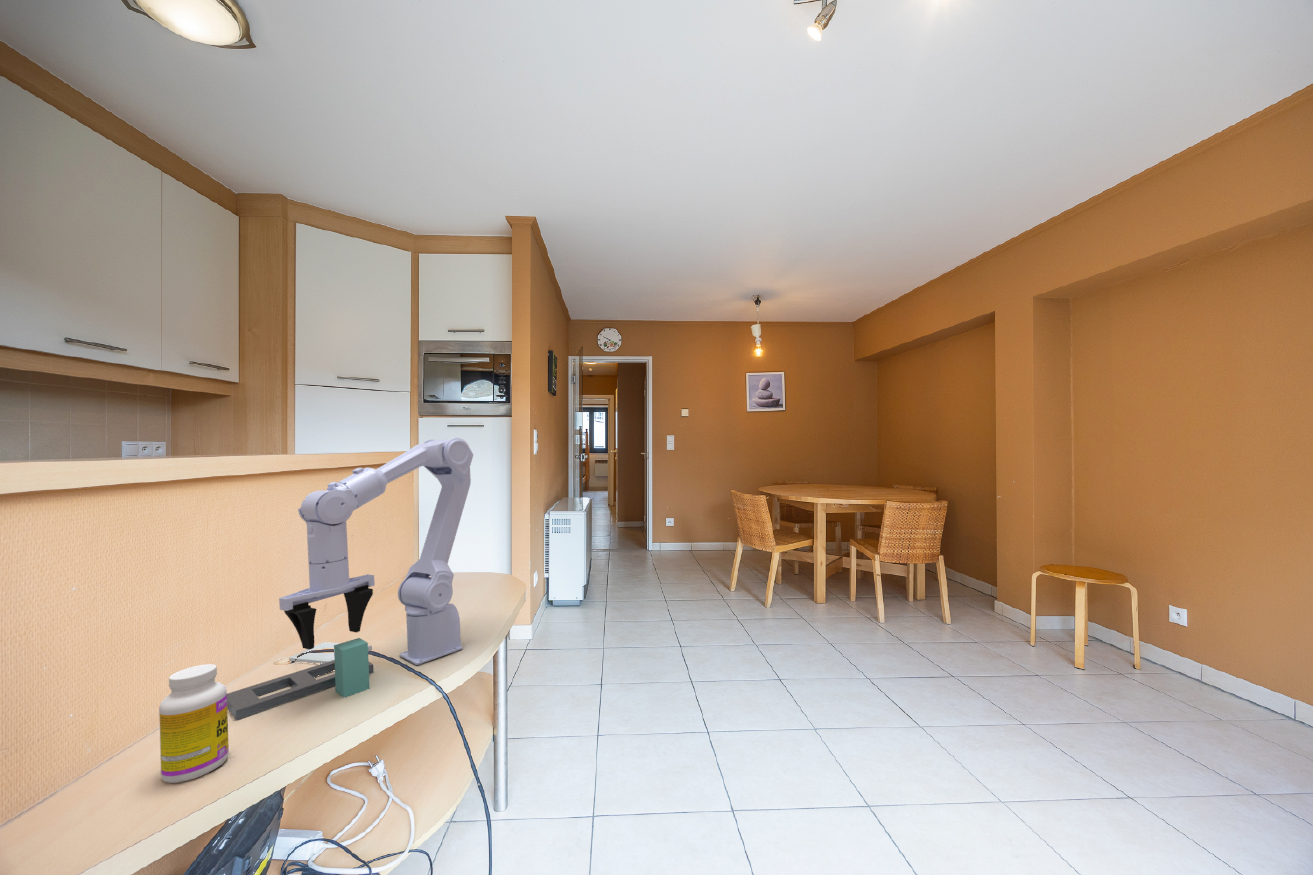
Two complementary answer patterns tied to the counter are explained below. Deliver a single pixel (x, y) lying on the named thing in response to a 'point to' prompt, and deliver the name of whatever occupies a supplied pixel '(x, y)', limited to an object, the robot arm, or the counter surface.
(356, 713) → the counter surface
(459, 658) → the counter surface
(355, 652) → the teal peg
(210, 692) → the supplement bottle
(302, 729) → the counter surface
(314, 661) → the hard drive
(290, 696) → the steel rail
